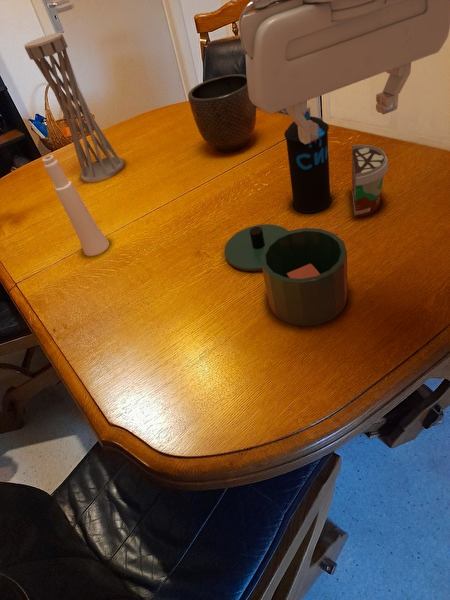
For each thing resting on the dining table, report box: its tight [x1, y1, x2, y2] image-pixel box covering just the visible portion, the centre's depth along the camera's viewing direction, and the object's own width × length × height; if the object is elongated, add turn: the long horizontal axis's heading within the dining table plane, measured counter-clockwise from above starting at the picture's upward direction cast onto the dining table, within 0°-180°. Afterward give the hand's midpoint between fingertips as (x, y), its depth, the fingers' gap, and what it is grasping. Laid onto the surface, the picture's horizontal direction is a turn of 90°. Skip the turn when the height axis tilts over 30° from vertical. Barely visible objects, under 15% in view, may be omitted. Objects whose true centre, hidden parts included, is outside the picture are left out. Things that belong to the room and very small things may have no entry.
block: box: [287, 263, 320, 279], centre depth 65 cm, size 4×4×4 cm
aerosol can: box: [283, 104, 332, 214], centre depth 80 cm, size 8×8×20 cm
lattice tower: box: [23, 32, 125, 183], centre depth 111 cm, size 14×13×35 cm
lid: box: [224, 223, 289, 272], centre depth 77 cm, size 14×14×5 cm
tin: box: [261, 227, 348, 327], centre depth 64 cm, size 13×13×10 cm
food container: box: [351, 144, 389, 219], centre depth 79 cm, size 12×6×10 cm, turn 171°
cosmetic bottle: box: [42, 154, 110, 257], centre depth 85 cm, size 6×6×22 cm
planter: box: [187, 73, 257, 154], centre depth 110 cm, size 17×17×16 cm
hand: (348, 125), depth 44 cm, fingers open, 8 cm apart
